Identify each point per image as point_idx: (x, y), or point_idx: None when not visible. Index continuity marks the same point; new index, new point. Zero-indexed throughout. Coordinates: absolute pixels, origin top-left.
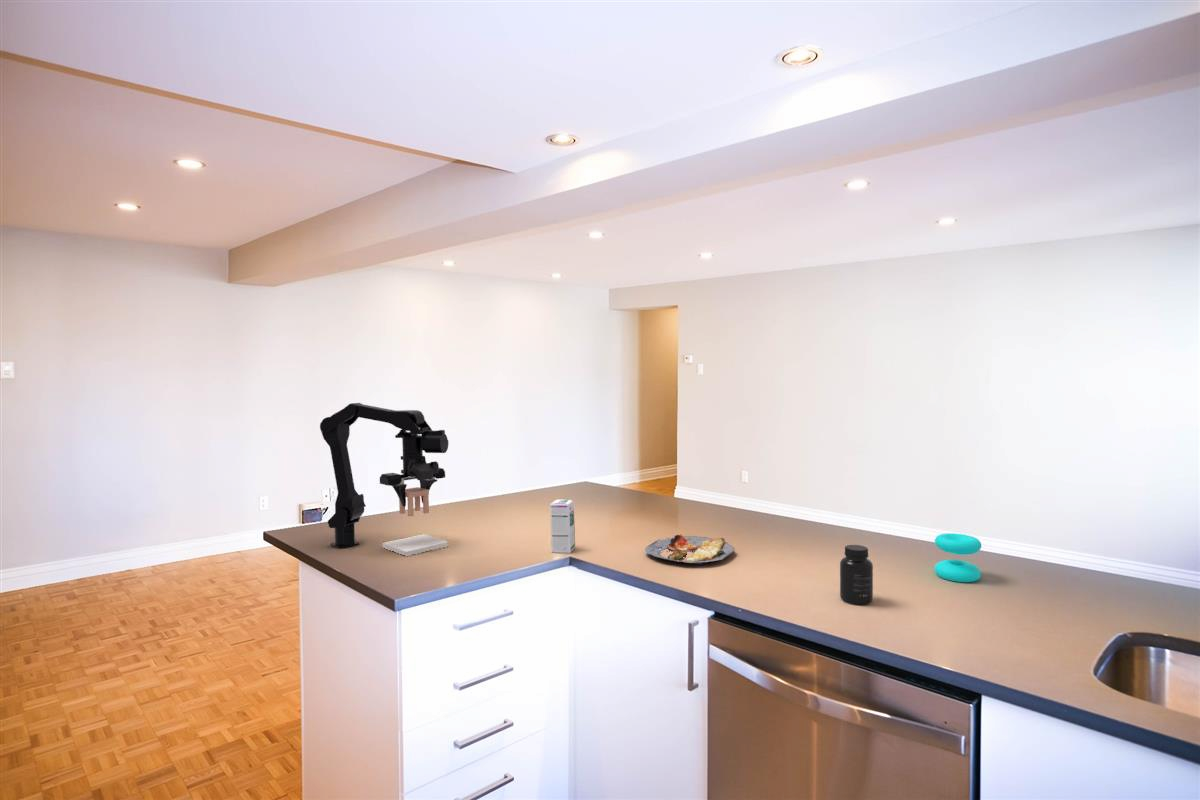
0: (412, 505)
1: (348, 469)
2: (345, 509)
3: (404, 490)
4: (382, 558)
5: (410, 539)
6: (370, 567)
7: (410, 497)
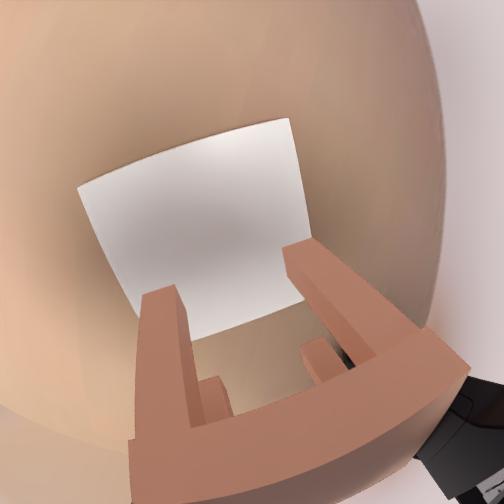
0: (334, 291)
1: (475, 494)
2: None
3: (474, 411)
4: (350, 155)
5: (220, 301)
6: (395, 85)
7: (414, 337)
